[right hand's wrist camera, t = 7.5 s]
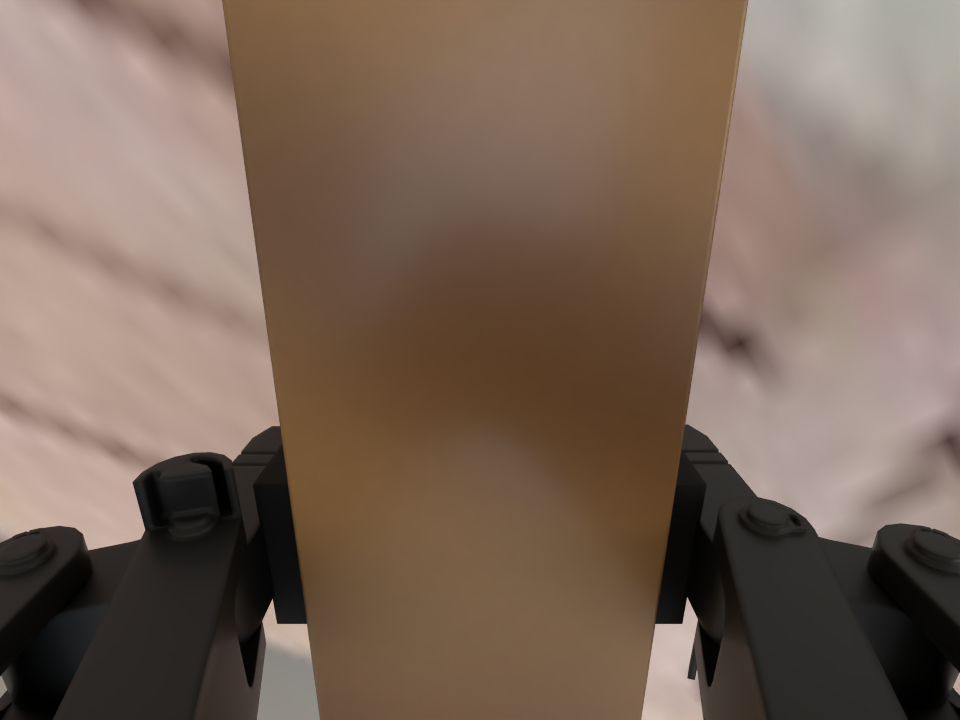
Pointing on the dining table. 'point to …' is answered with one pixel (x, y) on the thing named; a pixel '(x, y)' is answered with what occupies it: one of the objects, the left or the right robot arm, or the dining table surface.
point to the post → (483, 330)
